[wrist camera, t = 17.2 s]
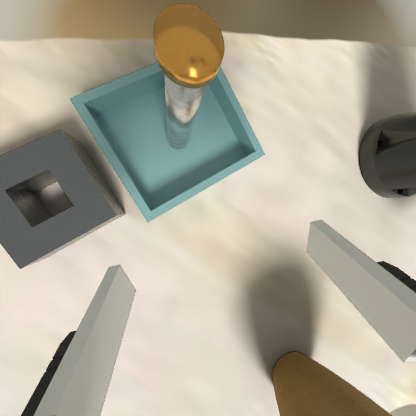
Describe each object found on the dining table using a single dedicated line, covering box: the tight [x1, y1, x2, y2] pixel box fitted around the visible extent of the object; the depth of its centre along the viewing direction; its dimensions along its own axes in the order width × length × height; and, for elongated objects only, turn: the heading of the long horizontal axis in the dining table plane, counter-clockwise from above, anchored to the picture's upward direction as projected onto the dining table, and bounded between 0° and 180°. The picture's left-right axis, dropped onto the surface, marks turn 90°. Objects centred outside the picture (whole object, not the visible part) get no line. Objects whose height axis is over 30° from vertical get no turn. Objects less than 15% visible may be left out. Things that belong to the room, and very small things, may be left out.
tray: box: [69, 62, 265, 222], centre depth 23 cm, size 18×16×4 cm
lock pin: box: [153, 3, 224, 150], centre depth 17 cm, size 4×4×15 cm
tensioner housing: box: [0, 129, 126, 269], centre depth 21 cm, size 11×11×4 cm
